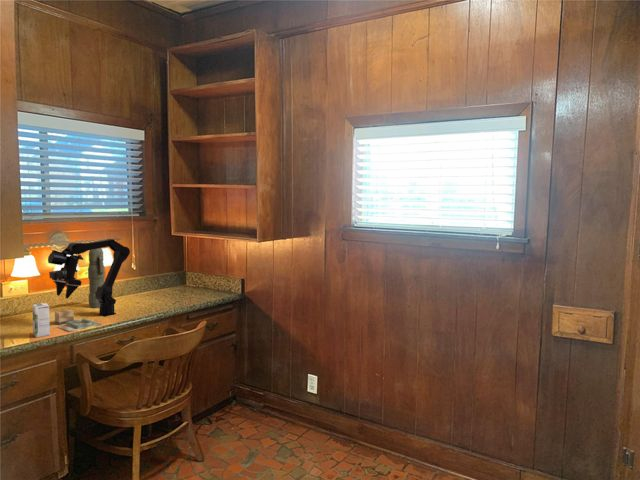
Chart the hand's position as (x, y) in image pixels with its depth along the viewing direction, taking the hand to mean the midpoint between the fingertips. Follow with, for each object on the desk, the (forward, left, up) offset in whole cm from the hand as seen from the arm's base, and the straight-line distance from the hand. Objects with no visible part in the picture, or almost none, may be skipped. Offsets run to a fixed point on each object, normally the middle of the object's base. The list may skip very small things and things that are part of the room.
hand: (62, 296), depth 219 cm
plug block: (-1, 0, -14) cm, 14 cm away
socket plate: (-3, +12, -14) cm, 18 cm away
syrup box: (+15, +13, -14) cm, 24 cm away
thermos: (-29, -21, -14) cm, 38 cm away
